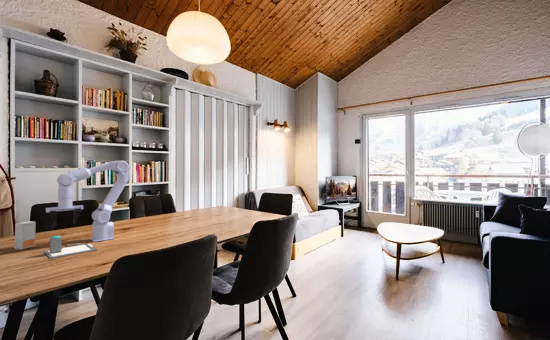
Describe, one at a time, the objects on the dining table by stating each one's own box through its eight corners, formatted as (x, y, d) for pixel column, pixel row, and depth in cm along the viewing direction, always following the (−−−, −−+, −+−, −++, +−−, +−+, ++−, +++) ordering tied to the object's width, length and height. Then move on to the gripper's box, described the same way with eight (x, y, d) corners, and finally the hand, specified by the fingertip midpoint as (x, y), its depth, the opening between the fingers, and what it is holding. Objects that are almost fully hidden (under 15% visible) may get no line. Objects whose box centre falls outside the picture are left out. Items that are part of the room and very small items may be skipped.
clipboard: (88, 244, 135) (88, 242, 135) (96, 250, 125) (96, 248, 125) (44, 251, 122) (44, 249, 122) (50, 259, 113) (50, 256, 113)
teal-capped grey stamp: (59, 250, 123) (59, 235, 123) (61, 252, 120) (61, 236, 120) (49, 252, 120) (49, 236, 120) (51, 253, 118) (51, 238, 117)
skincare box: (21, 249, 124) (21, 223, 124) (14, 249, 125) (14, 223, 125) (35, 246, 130) (36, 221, 130) (28, 245, 131) (29, 220, 131)
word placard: (80, 242, 137) (80, 242, 137) (82, 244, 134) (82, 243, 134) (65, 245, 132) (65, 244, 132) (67, 246, 130) (67, 246, 130)
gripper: (80, 196, 140) (80, 222, 141) (44, 198, 129) (44, 226, 130) (84, 197, 136) (84, 224, 136) (47, 199, 125) (47, 228, 125)
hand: (65, 225), depth 132 cm, fingers open, 7 cm apart
